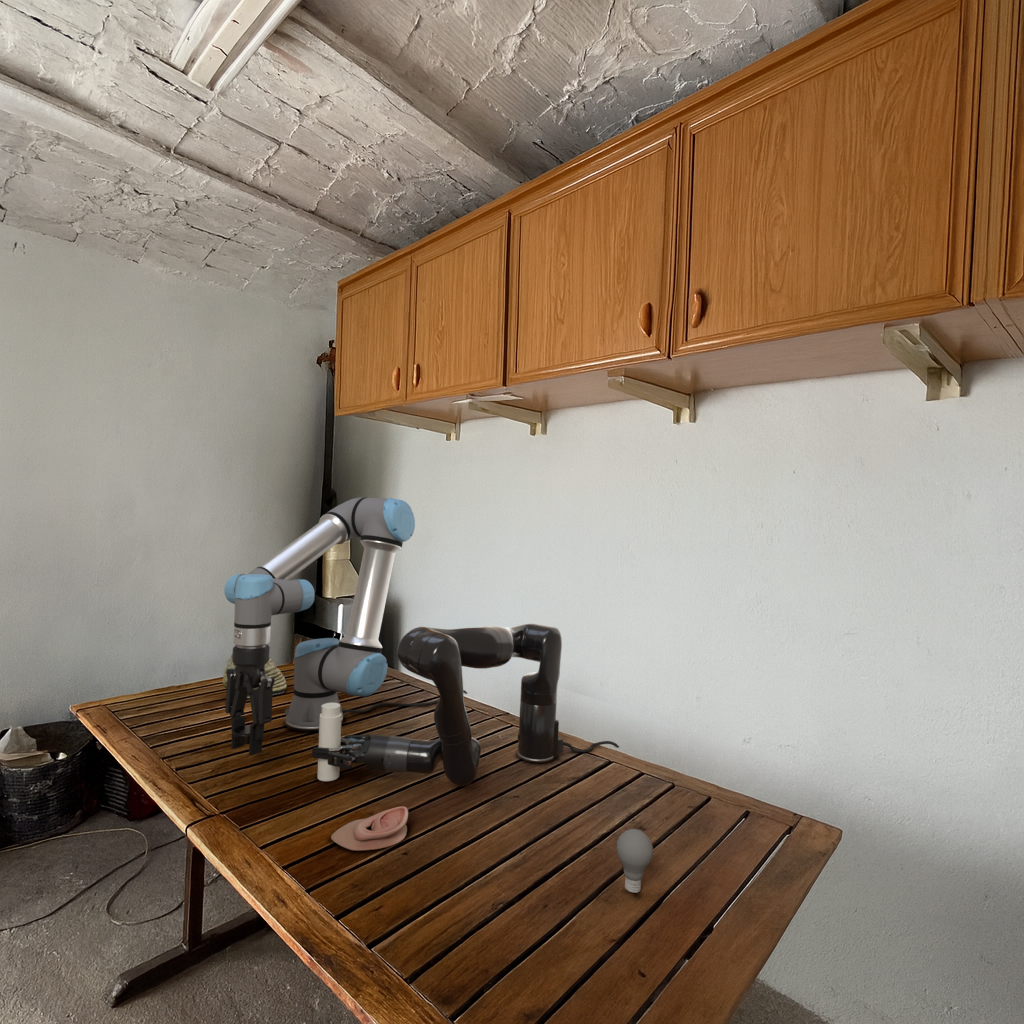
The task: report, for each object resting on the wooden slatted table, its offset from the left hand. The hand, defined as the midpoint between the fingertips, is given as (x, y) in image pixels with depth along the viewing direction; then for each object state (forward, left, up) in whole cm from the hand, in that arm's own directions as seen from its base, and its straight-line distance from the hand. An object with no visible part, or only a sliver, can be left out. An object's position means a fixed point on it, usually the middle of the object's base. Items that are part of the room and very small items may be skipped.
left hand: (246, 750), depth 139 cm
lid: (0, 0, +4) cm, 4 cm away
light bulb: (-23, +83, -7) cm, 86 cm away
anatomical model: (-4, +38, -7) cm, 39 cm away
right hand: (-12, +9, 0) cm, 15 cm away
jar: (-14, +11, -7) cm, 19 cm away
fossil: (-32, -54, -7) cm, 63 cm away
